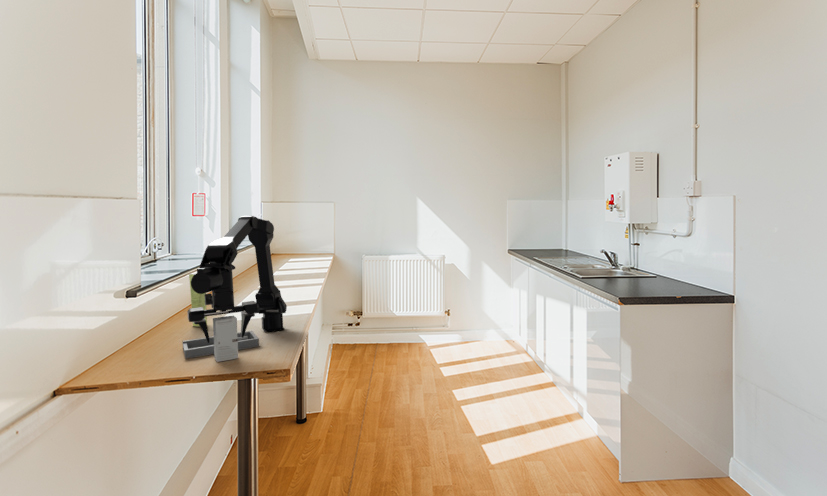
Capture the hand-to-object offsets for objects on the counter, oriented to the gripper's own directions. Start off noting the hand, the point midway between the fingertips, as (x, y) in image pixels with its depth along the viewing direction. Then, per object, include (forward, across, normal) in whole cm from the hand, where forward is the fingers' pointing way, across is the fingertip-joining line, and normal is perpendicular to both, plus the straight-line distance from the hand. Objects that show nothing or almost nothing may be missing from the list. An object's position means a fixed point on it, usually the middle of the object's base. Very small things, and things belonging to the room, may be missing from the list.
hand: (225, 339), depth 131 cm
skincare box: (+6, 0, 0) cm, 6 cm away
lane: (+6, 0, -12) cm, 13 cm away
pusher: (+5, -4, -12) cm, 14 cm away
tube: (+6, +3, -46) cm, 46 cm away
